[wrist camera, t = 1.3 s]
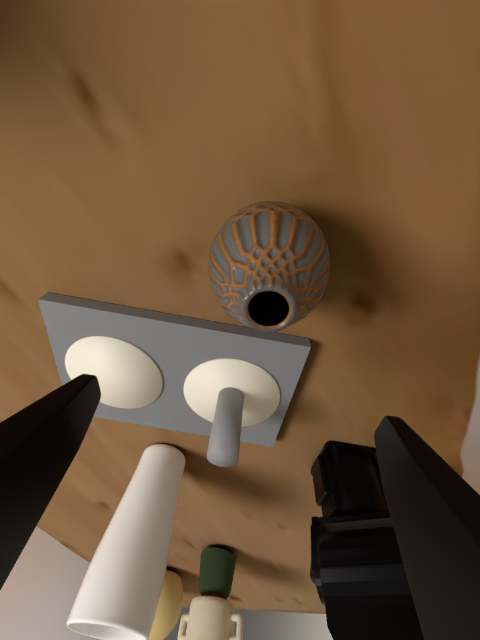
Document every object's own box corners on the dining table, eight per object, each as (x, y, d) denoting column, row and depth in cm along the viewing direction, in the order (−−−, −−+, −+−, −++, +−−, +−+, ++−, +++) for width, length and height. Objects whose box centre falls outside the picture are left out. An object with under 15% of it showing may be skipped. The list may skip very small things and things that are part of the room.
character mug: (202, 559, 53) (186, 667, 42) (183, 544, 50) (160, 656, 39) (254, 555, 50) (251, 671, 39) (238, 539, 47) (229, 660, 36)
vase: (221, 289, 21) (196, 366, 14) (216, 192, 18) (180, 227, 10) (311, 292, 21) (335, 373, 14) (326, 193, 17) (371, 231, 10)
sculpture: (121, 560, 58) (94, 638, 49) (172, 559, 55) (154, 642, 46) (148, 580, 63) (128, 653, 54) (195, 579, 60) (183, 657, 51)
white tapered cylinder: (131, 437, 33) (47, 618, 21) (185, 437, 32) (132, 626, 20) (148, 469, 37) (86, 639, 24) (197, 469, 36) (160, 647, 23)
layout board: (309, 338, 23) (324, 410, 17) (272, 437, 31) (274, 511, 25) (47, 292, 23) (-34, 348, 17) (76, 403, 30) (27, 470, 24)
